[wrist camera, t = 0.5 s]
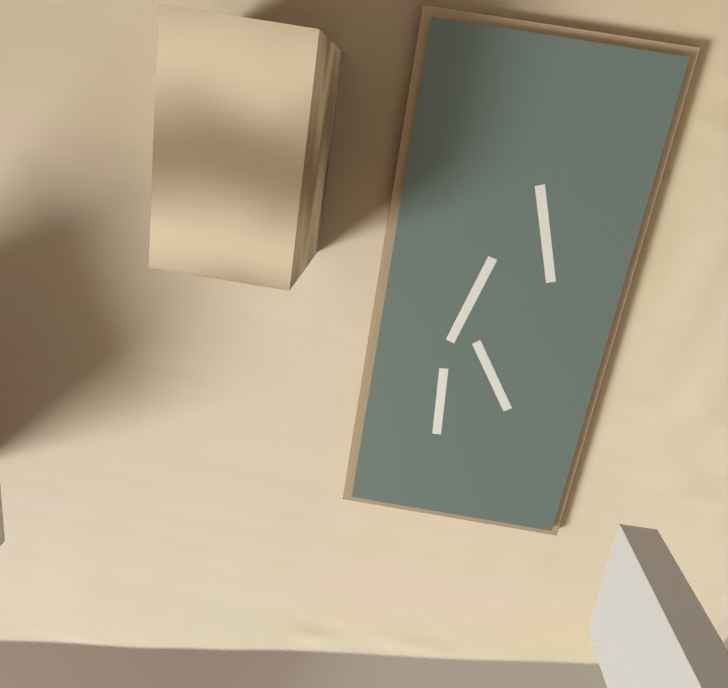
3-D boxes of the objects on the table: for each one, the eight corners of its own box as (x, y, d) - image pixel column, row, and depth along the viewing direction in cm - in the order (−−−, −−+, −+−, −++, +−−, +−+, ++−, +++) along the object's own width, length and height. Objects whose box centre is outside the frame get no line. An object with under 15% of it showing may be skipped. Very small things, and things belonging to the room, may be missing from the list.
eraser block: (222, 33, 32) (159, 3, 24) (342, 52, 32) (319, 29, 24) (208, 234, 35) (148, 267, 27) (317, 251, 35) (289, 290, 27)
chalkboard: (422, 6, 31) (422, 2, 30) (695, 49, 31) (704, 47, 30) (343, 493, 40) (342, 502, 39) (554, 529, 40) (558, 539, 39)
